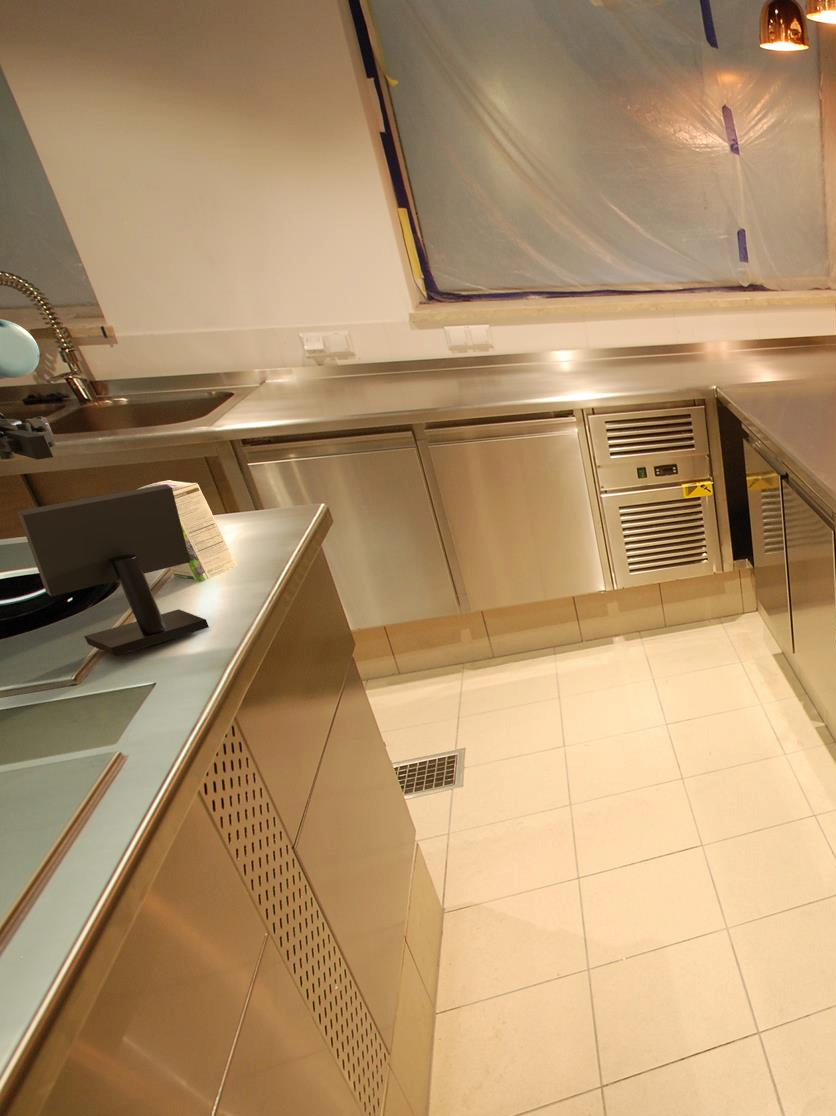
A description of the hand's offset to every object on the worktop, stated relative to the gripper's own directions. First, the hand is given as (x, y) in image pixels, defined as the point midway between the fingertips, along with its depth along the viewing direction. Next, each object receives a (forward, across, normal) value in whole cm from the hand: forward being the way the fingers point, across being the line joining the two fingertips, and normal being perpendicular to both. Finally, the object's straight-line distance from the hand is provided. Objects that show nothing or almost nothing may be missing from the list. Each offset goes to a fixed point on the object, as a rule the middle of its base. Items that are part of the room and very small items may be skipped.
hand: (40, 447), depth 103 cm
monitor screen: (+8, 0, -15) cm, 17 cm away
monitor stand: (+8, 0, -24) cm, 25 cm away
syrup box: (-9, -15, -23) cm, 29 cm away
